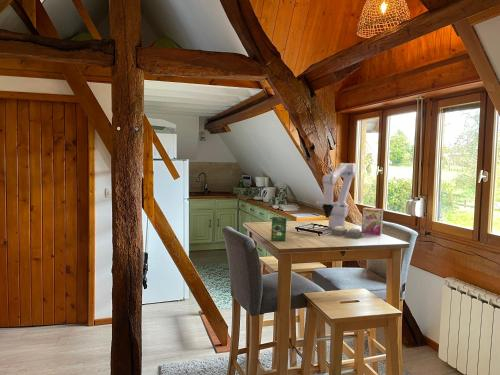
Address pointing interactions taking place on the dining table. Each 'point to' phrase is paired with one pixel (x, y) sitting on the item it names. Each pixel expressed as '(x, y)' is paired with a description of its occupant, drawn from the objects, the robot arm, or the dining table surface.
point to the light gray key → (354, 230)
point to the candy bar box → (372, 221)
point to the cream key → (339, 228)
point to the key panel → (347, 234)
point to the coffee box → (278, 229)
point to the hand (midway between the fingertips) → (327, 217)
